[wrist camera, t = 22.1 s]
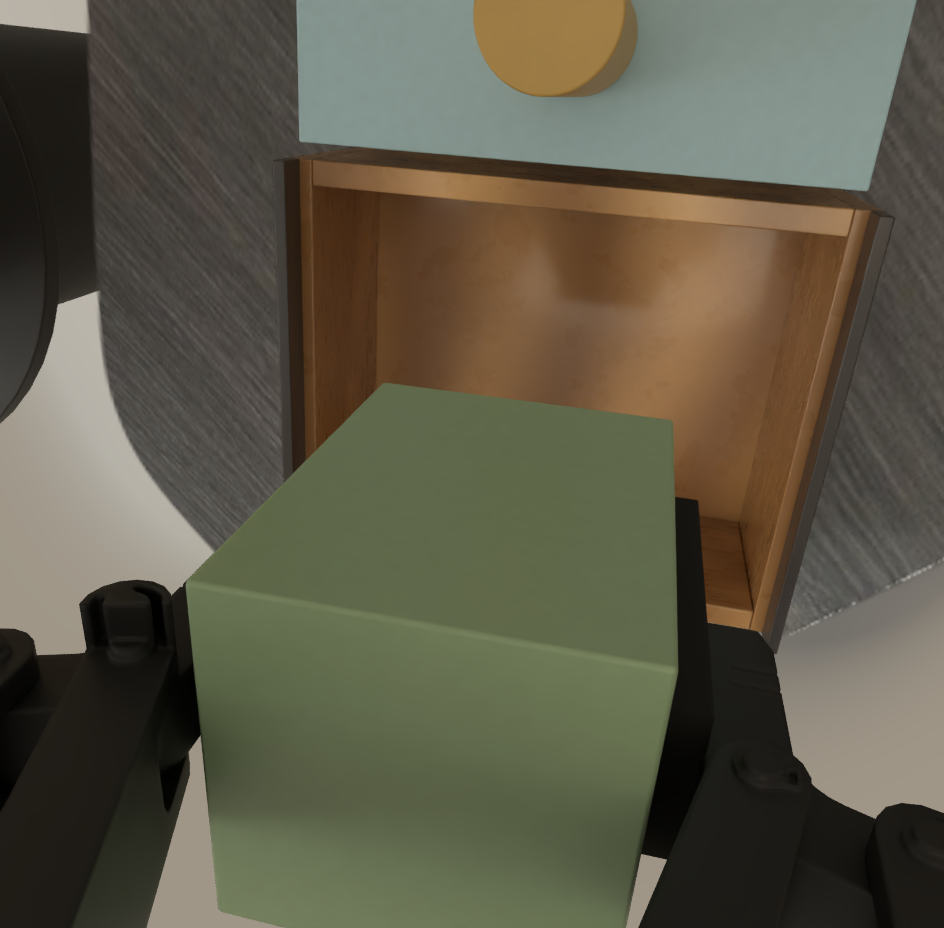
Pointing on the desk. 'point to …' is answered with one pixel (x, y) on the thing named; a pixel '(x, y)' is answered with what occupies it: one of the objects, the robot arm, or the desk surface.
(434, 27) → the slide top
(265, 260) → the desk surface
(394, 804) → the block
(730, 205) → the case
